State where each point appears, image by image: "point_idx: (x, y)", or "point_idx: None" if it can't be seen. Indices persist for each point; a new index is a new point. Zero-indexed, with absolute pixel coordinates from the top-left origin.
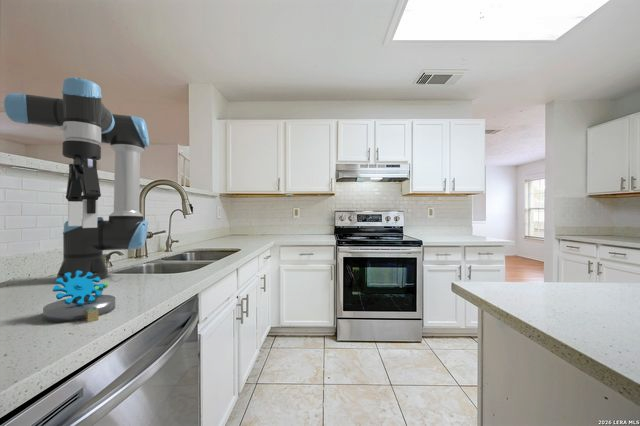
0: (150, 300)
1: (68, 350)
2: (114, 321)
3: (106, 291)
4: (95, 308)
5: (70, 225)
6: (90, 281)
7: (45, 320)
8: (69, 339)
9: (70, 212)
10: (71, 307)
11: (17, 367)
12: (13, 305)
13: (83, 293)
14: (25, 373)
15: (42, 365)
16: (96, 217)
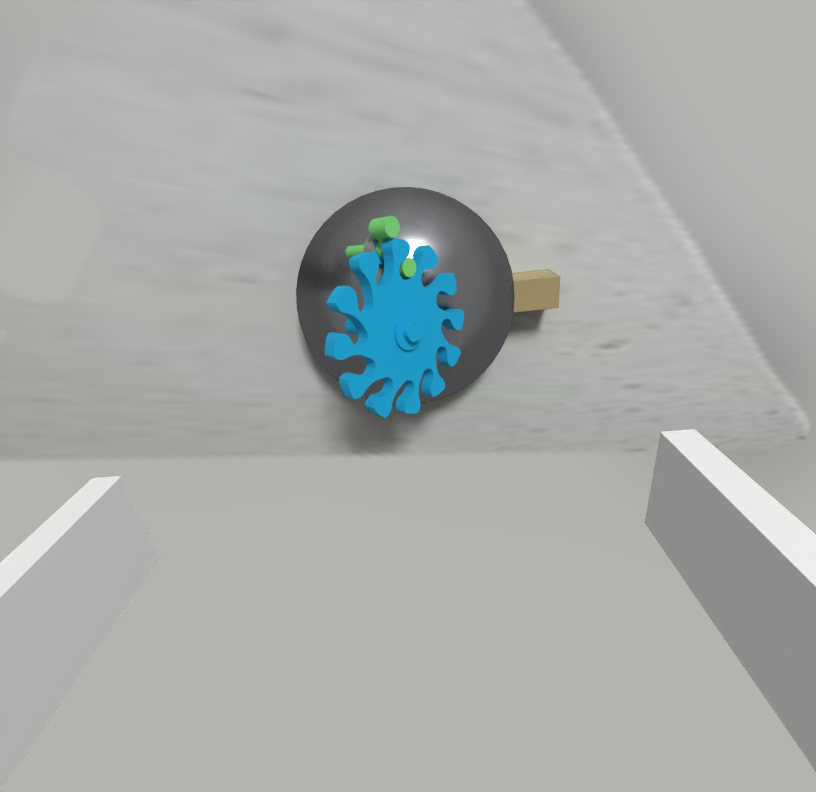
0: (425, 17)
1: (738, 361)
2: (610, 230)
3: (87, 160)
4: (539, 282)
5: (154, 551)
6: (384, 294)
7: None
8: (659, 352)
9: (59, 686)
10: (457, 340)
11: (734, 436)
12: (161, 443)
13: (432, 315)
14: (781, 427)
15: (772, 404)
16: (772, 505)
